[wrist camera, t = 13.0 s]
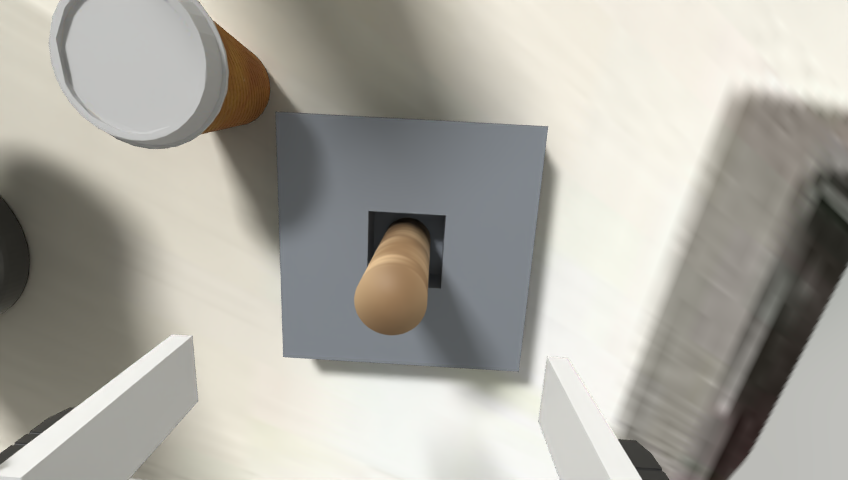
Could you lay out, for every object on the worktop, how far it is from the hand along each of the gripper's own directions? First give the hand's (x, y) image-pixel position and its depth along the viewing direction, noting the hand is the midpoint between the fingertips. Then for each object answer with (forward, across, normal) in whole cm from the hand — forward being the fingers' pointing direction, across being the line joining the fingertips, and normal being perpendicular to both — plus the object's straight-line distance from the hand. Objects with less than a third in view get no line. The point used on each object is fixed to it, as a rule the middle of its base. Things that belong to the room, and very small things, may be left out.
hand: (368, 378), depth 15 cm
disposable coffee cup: (+22, -15, +12) cm, 29 cm away
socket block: (+22, 0, 0) cm, 22 cm away
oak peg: (+22, 0, 0) cm, 22 cm away
